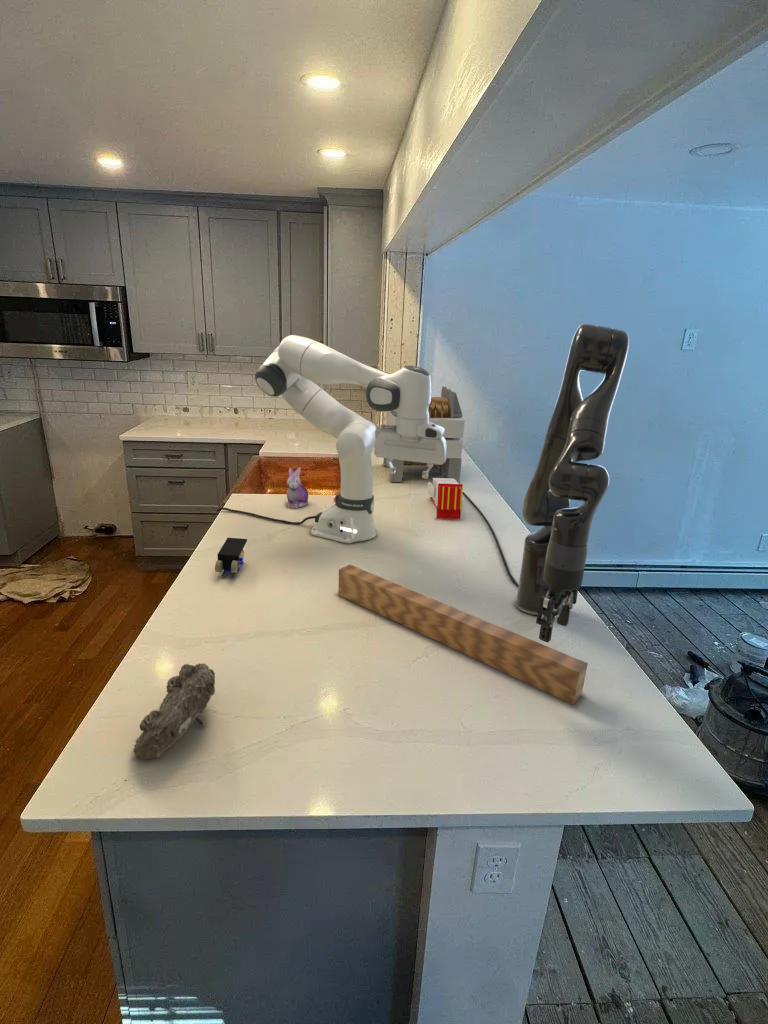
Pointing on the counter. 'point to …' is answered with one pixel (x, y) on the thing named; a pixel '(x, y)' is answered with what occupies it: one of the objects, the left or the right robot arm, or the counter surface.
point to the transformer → (448, 417)
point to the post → (467, 634)
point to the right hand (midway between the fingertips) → (553, 632)
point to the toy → (446, 497)
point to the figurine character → (230, 556)
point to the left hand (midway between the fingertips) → (408, 475)
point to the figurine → (296, 490)
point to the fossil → (176, 710)
